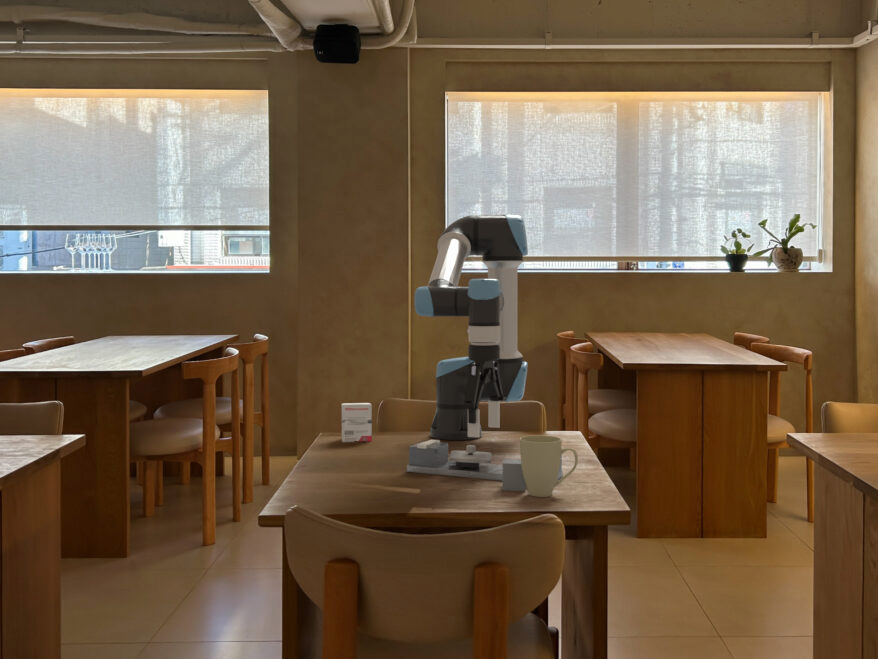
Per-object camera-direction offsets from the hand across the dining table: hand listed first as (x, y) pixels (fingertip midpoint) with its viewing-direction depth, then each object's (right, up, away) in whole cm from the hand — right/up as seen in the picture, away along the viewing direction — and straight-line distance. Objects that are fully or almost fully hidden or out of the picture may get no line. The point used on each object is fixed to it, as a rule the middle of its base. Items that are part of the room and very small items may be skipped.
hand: (484, 432), depth 202 cm
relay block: (+6, -11, -15) cm, 19 cm away
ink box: (-35, -9, +41) cm, 55 cm away
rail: (0, -10, 0) cm, 10 cm away
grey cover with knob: (+1, -9, +1) cm, 9 cm away
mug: (+12, -11, -21) cm, 26 cm away
